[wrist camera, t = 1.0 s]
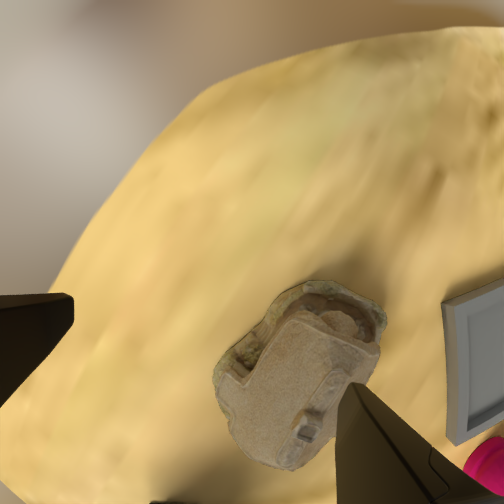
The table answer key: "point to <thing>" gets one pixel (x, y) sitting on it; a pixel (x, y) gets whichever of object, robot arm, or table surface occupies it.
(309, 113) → the table surface
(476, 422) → the grey tray
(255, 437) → the ceramic model
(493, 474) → the pepper mill
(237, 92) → the table surface
